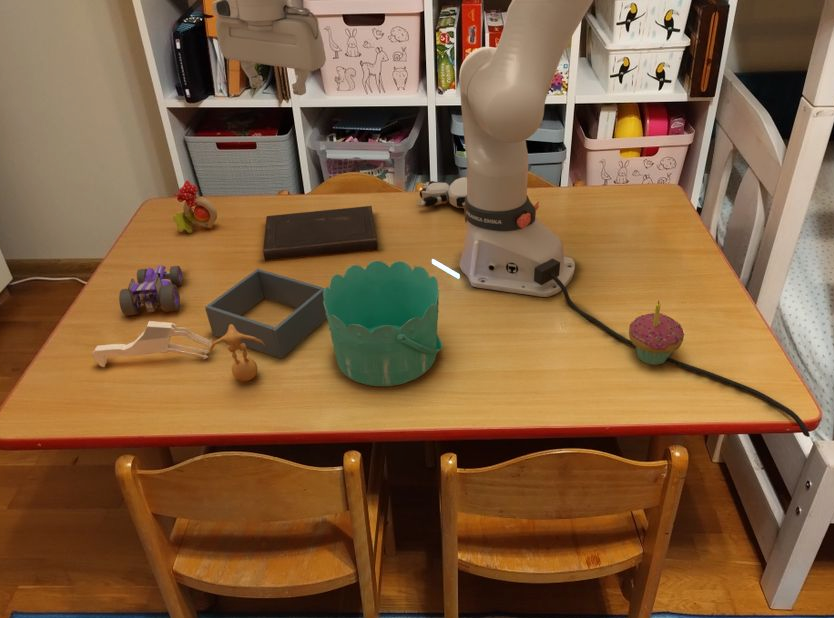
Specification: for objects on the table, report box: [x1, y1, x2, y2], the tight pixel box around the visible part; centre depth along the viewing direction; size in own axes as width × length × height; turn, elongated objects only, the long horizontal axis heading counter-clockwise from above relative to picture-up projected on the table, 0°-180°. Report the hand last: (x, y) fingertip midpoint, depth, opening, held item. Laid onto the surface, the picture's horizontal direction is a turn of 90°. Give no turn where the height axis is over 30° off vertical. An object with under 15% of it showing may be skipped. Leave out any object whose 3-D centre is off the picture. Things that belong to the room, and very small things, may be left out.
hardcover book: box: [262, 205, 379, 262], centre depth 152 cm, size 16×23×2 cm
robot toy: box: [416, 176, 467, 210], centre depth 162 cm, size 12×4×15 cm
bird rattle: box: [173, 179, 218, 234], centre depth 155 cm, size 6×11×9 cm
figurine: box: [209, 324, 265, 382], centre depth 112 cm, size 8×6×12 cm
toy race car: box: [118, 265, 184, 316], centre depth 135 cm, size 10×15×6 cm, turn 6°
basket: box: [323, 260, 443, 387], centre depth 116 cm, size 19×18×13 cm
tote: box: [204, 268, 327, 360], centre depth 126 cm, size 15×14×6 cm
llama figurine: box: [91, 320, 213, 368], centre depth 119 cm, size 2×11×18 cm
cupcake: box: [628, 300, 685, 366], centre depth 113 cm, size 9×8×12 cm
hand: (278, 90), depth 124 cm, fingers open, 8 cm apart
